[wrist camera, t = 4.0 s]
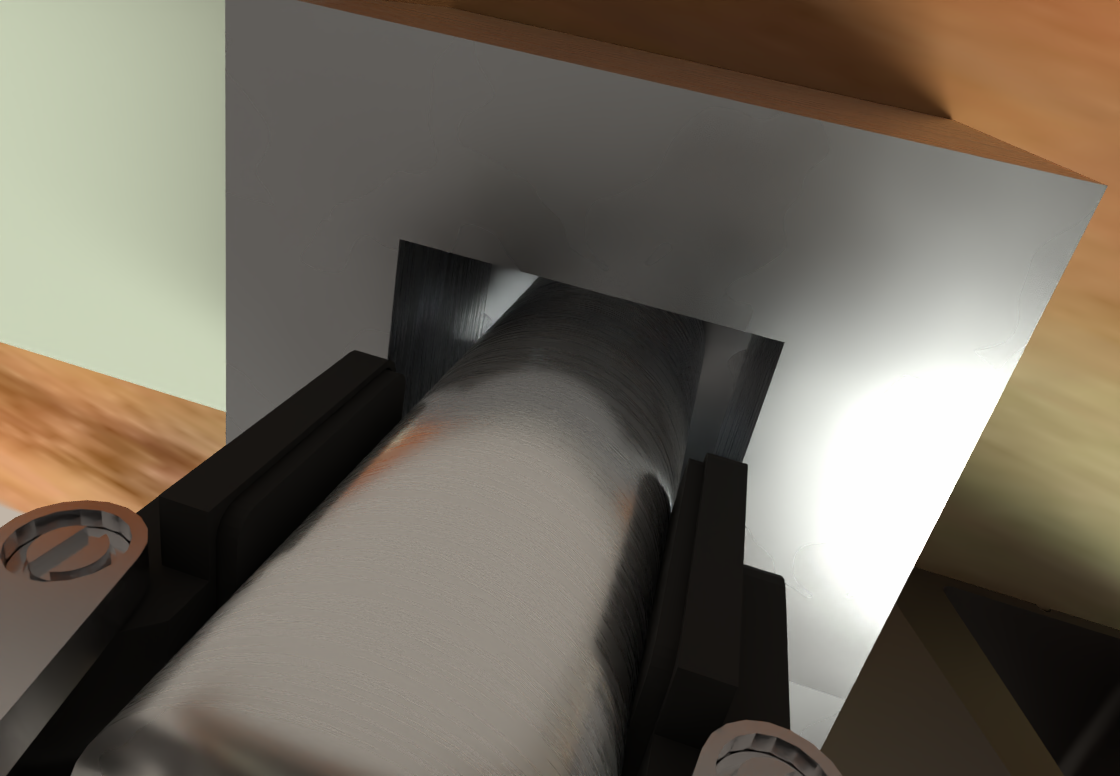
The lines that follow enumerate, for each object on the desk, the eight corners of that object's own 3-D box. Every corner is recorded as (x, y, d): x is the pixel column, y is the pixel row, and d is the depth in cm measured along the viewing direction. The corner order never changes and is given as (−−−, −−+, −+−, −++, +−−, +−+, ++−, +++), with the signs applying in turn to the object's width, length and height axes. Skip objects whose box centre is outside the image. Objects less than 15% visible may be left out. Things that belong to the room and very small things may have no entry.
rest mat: (346, -41, 17) (324, -45, 16) (319, 419, 23) (300, 435, 22) (-105, -140, 19) (-148, -149, 18) (-31, 312, 24) (-61, 322, 23)
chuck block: (953, 120, 16) (1107, 185, 9) (781, 544, 21) (789, 809, 14) (448, 7, 17) (224, -17, 10) (400, 429, 22) (226, 613, 15)
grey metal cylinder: (729, 277, 15) (638, 846, 4) (676, 449, 17) (521, 1150, 6) (534, 227, 16) (39, 628, 5) (503, 399, 17) (88, 966, 7)
